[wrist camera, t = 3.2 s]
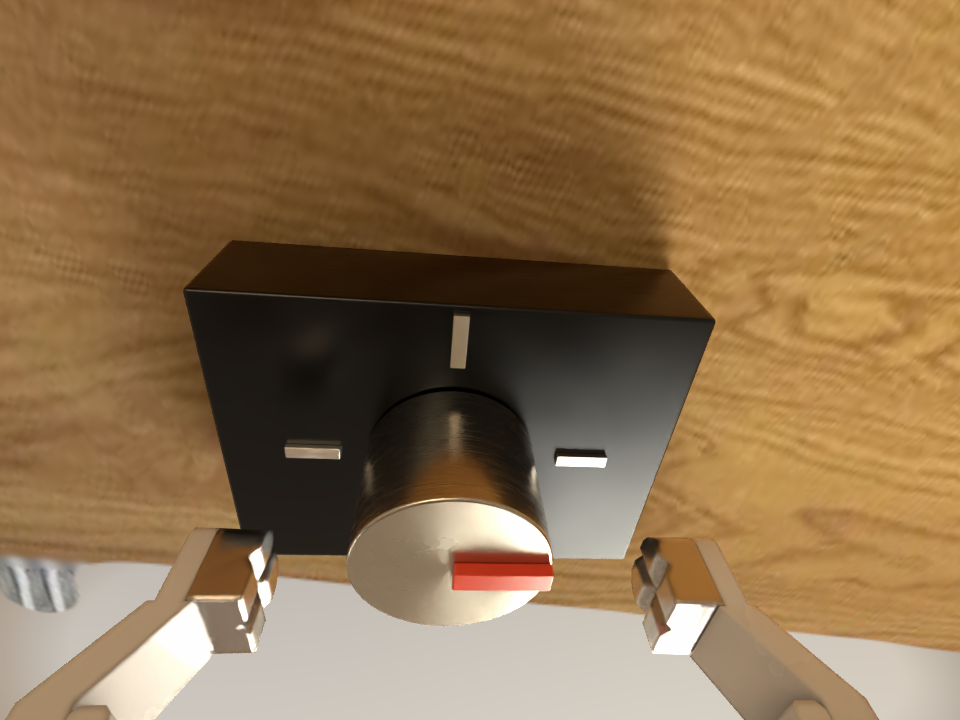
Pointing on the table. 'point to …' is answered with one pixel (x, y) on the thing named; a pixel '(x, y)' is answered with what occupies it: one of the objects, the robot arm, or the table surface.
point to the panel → (439, 376)
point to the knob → (449, 513)
